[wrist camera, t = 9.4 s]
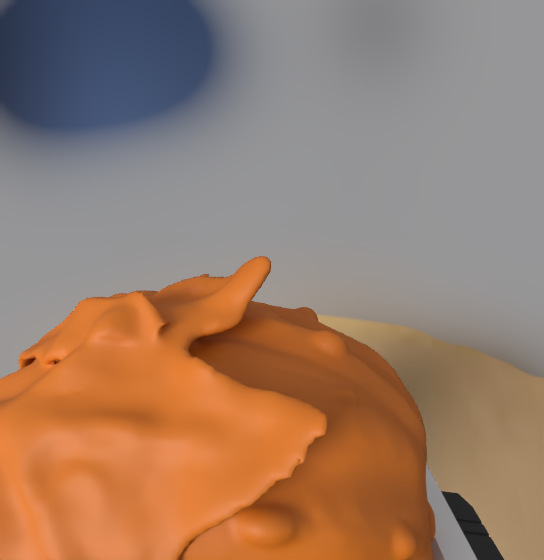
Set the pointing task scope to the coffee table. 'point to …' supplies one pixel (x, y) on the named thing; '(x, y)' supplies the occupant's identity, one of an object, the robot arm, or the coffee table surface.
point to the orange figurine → (209, 435)
